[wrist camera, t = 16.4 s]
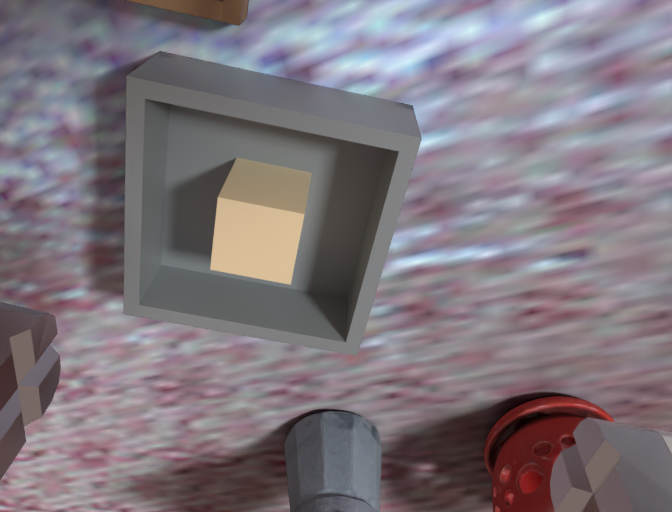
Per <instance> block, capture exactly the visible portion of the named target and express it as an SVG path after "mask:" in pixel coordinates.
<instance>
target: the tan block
mask: <svg viewBox="0 0 672 512" xmlns="http://www.w3.org/2000/svg"><path fill="white" fill-rule="evenodd" d="M311 174H312V173H310V172H305V171H301V170H296V169H291V168H286V167H281V166H276V165H271V164H266V163H261V162H256V161H251V160H246V159H241V158H236V160H235V162H234V165H233V167H232V169H231V171H230V173H229V175H228V177H227V179H226V181H225V183H224V185H223V187H222V189H221V192H220V194H219V196H218V200H217V209H216V219H215V228H214V238H213V247H212V256H211V266H210V270H214V271H220V272H225V273H231V274H236V275H241V276H247V277H252V278H257V279H263V280H268V281H273V282H279V283H284V284H290V285H291V281H292V276H293V271H294V265H295V260H296V255H297V250H298V245H299V240H300V235H301V230H302V225H303V220H304V215H305V209H306V203H307V198H308V192H309V186H310V180H311Z"/></svg>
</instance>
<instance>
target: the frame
mask: <svg viewBox="0 0 672 512" xmlns="http://www.w3.org/2000/svg"><path fill="white" fill-rule="evenodd" d="M126 1H131V2H135V3H140V4H144V5H149V6H153V7H158V8H162V9H167V10H171V11H176V12H180V13H185V14H189V15H194V16H198V17H203V18H208V19H212V20H217V21H221V22H226V23H230V24H235V25H240V24H241V23H242V22H243V21H244V20H245V19H246V18H247V11H248V2H249V0H126Z"/></svg>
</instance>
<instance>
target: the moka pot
mask: <svg viewBox="0 0 672 512" xmlns="http://www.w3.org/2000/svg"><path fill="white" fill-rule="evenodd" d="M284 450H285V461H286V470H287V480H288V494H289V502H290V512H379V509H380V481H381V456H382V446H381V441H380V436H379V433H378V431H377V429H376V427H375V426H374V425H373V424H372V423H371V422H369V421H368V420H366V419H365V418H363V417H362V416H358V415H357V414H354V413H350V412H341V411H336V412H335V411H324V412H319V413H315V414H312V415H309V416H307V417H306V418H303V419H302V420H300V421H299V422H297V423H296V424H295V425H294V426H293V427H292V428H291V430H290V431H289V433H288V435H287V437H286V439H285V440H284Z"/></svg>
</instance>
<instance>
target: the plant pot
mask: <svg viewBox="0 0 672 512" xmlns="http://www.w3.org/2000/svg"><path fill="white" fill-rule="evenodd" d="M588 417H589V418H595V419H600V420H605V421H611V422H614V420H613V419H612V418H611V416H610V415H609V414H608V413H607V412H605V411H604V410H603V409H601V408H600V407H598V406H596V405H595V404H592V403H590V402H588V401H585V400H582V399H578V398H573V397H563V396H556V397H546V398H540V399H536V400H533V401H530V402H527V403H524V404H522V405H520V406H518V407H516V408H514V409H512V410H511V411H509V412H508V413H506V414H505V415H504V416H503V417H502V418H500V419H499V420H498V421H497V422H496V423H495V425H494V426H493V428H492V429H491V431H490V433H489V435H488V437H487V439H486V442H485V447H484V461H485V465H486V467H487V469H488V471H489V473H490V474H491V475H492V477H493V478H492V503H493V512H555V510H554V507H553V503H552V499H551V490H550V479H551V474H552V468H553V465H554V463H555V461H556V459H557V458H558V456H559V454H560V452H561V451H563V450H565V449H567V448H569V447H571V446H573V445H575V444H576V441H575V438H574V435H573V432H574V430H575V429H576V427H577V426H578V424H579V423H580V422H581V421H583V420H584V419H586V418H588Z"/></svg>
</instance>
